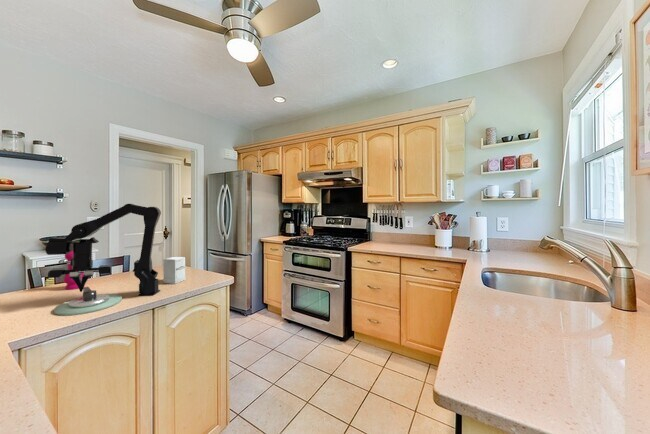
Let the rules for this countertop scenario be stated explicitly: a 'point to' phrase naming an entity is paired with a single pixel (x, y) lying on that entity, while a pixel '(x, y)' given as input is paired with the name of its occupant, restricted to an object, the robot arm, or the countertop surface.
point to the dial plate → (66, 310)
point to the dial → (88, 299)
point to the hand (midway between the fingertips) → (81, 291)
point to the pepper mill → (67, 280)
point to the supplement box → (174, 270)
